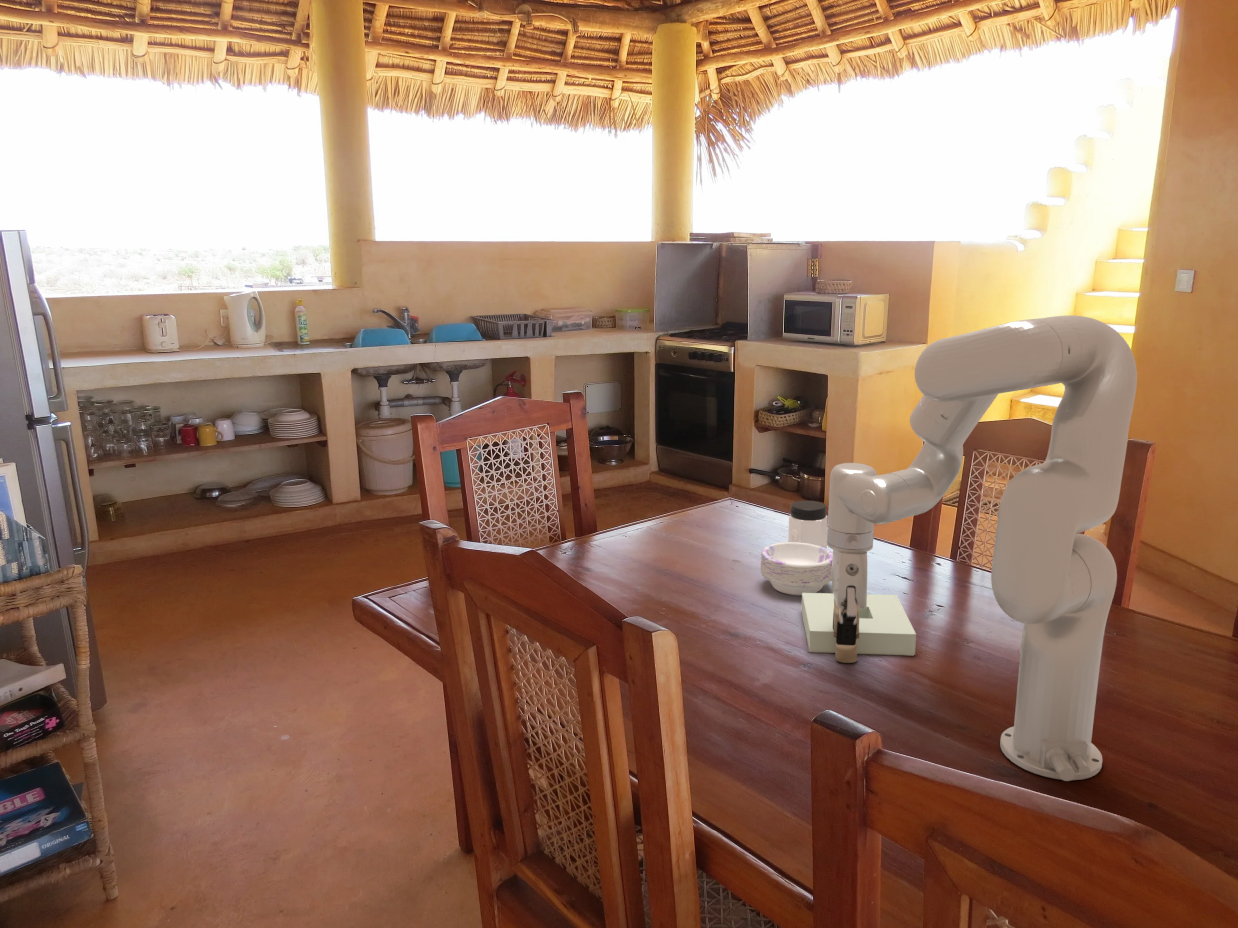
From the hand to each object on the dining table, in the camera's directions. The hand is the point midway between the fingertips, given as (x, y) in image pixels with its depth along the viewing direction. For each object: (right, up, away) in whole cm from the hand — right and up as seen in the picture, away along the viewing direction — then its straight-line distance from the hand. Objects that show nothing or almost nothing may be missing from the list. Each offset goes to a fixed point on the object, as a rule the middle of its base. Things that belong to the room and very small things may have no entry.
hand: (843, 636), depth 147 cm
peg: (0, -4, 0) cm, 4 cm away
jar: (+6, +8, +54) cm, 55 cm away
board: (+5, -2, +11) cm, 12 cm away
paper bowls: (-1, +3, +34) cm, 34 cm away
